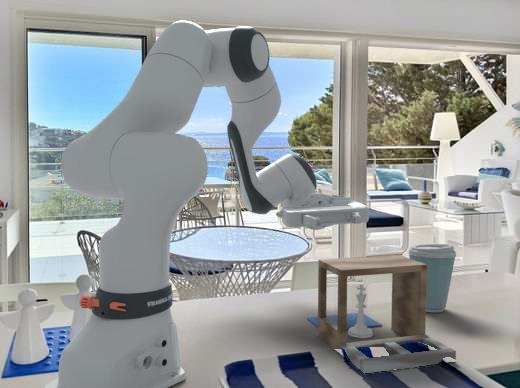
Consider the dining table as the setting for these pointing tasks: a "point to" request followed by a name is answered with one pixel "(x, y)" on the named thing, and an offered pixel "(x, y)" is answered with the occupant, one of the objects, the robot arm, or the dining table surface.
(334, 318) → the mat
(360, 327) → the chess piece
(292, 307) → the dining table surface
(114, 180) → the robot arm
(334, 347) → the tunnel
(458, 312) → the dining table surface
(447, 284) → the disposable coffee cup
